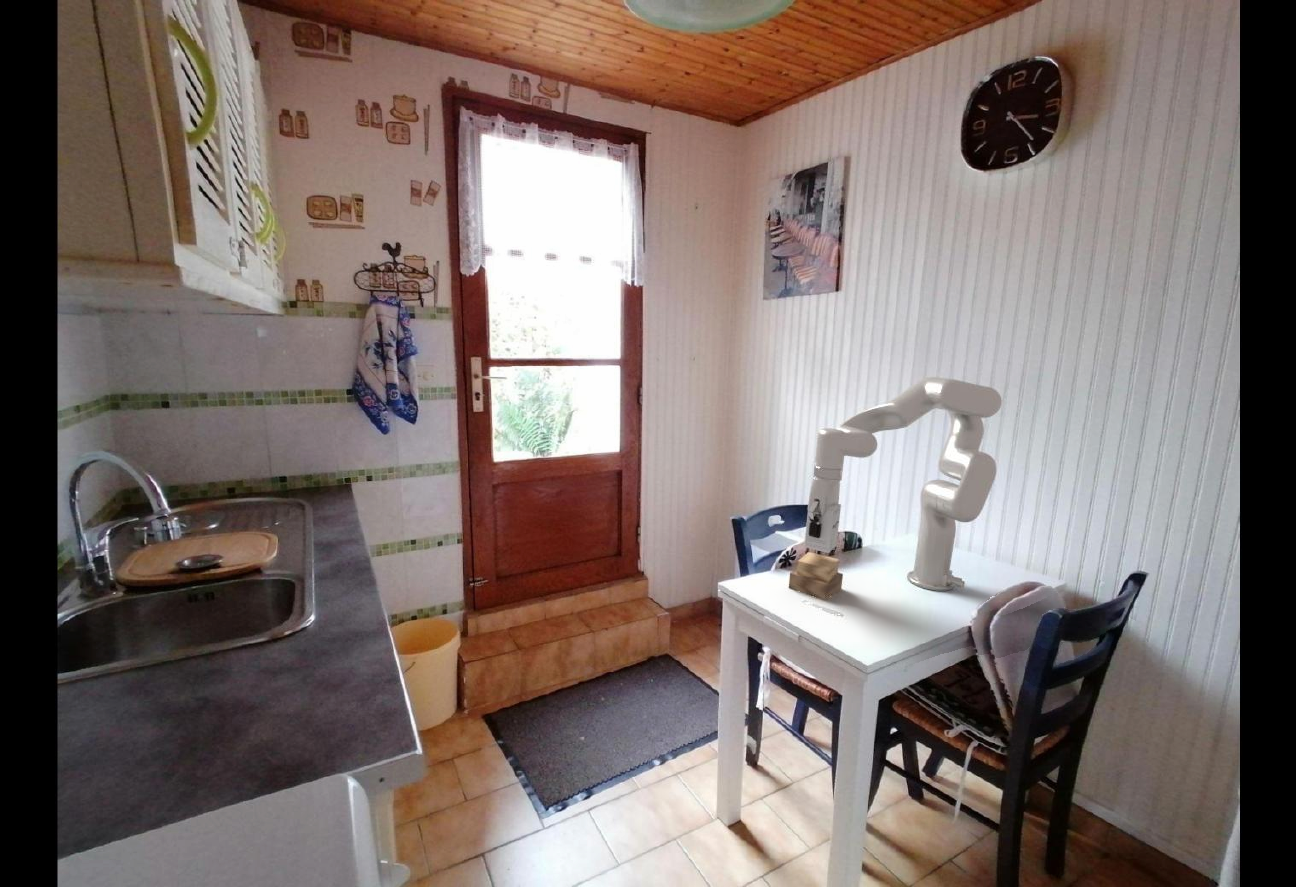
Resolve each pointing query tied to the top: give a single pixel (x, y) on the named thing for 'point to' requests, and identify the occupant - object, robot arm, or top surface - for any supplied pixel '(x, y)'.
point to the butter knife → (827, 609)
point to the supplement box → (825, 530)
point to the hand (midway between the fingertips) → (821, 533)
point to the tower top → (818, 567)
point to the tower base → (815, 585)
